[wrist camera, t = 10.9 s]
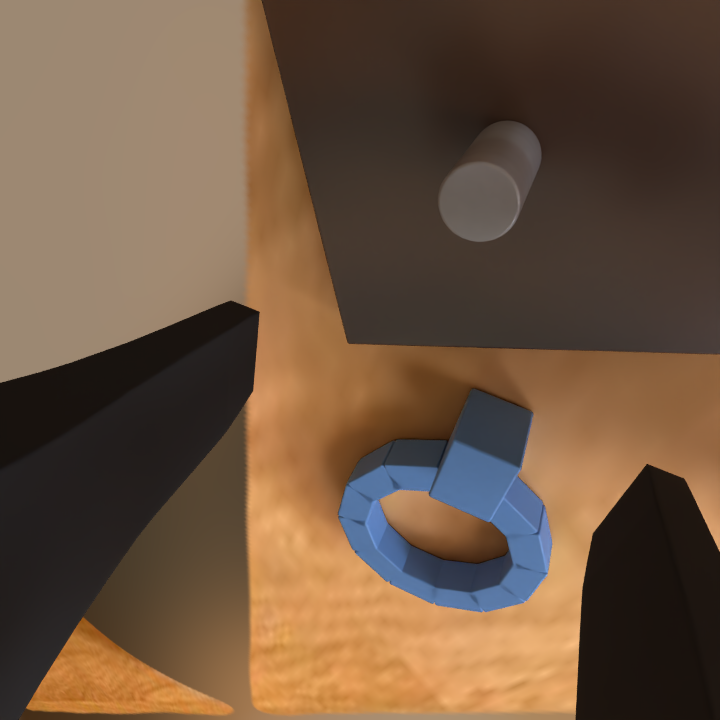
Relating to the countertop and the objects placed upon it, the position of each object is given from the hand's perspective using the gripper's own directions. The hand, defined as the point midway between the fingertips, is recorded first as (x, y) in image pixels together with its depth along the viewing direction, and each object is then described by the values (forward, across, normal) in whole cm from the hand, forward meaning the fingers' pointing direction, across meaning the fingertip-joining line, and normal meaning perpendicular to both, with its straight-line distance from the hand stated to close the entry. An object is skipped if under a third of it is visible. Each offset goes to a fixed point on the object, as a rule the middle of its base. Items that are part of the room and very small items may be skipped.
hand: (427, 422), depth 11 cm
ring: (+9, -2, +12) cm, 16 cm away
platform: (+9, +1, -2) cm, 10 cm away
